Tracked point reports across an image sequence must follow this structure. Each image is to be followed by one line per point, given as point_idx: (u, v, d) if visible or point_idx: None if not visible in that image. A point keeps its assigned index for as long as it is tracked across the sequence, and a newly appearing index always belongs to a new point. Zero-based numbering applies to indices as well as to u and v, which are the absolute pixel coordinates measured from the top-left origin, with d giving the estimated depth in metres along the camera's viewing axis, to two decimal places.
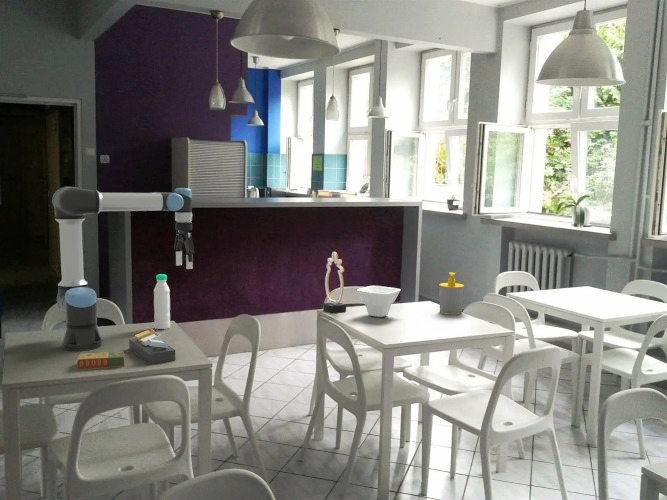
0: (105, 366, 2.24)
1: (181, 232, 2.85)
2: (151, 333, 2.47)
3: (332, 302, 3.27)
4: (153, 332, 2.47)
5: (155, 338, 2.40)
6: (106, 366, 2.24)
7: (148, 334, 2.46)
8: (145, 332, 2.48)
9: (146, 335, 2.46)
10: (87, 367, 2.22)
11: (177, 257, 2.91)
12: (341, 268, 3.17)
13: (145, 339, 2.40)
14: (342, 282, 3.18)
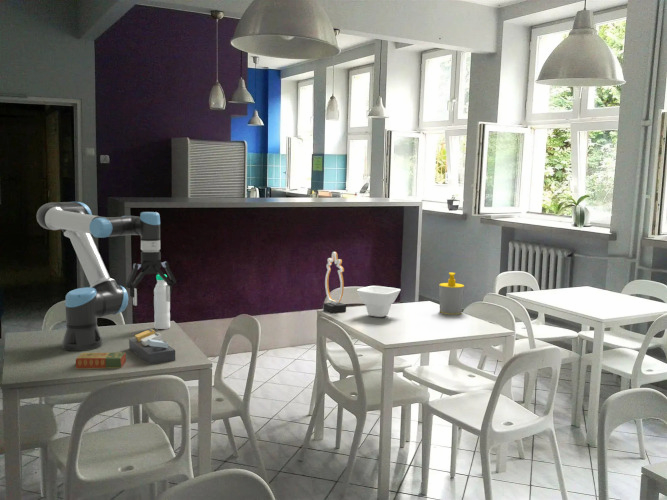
0: (102, 366, 2.24)
1: None
2: (151, 333, 2.47)
3: (332, 302, 3.27)
4: (153, 332, 2.47)
5: (155, 338, 2.40)
6: (104, 367, 2.24)
7: (148, 334, 2.46)
8: (145, 332, 2.48)
9: (146, 335, 2.46)
10: (85, 366, 2.23)
11: (166, 292, 2.52)
12: (341, 268, 3.17)
13: (145, 339, 2.40)
14: (342, 282, 3.18)
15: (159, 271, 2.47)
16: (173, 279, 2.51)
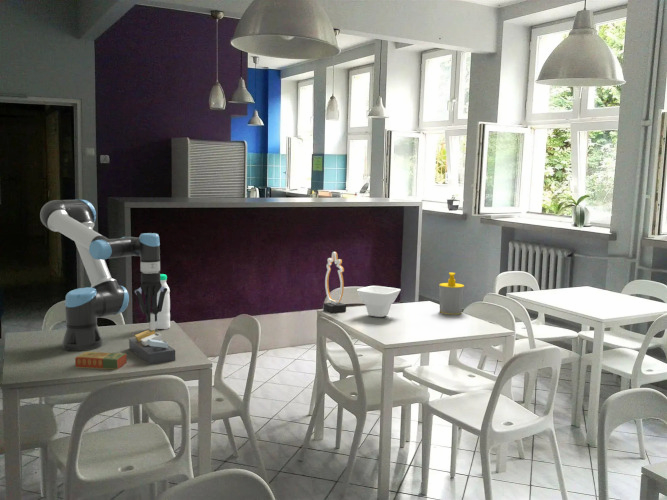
0: (100, 367, 2.23)
1: None
2: (151, 333, 2.47)
3: (332, 302, 3.27)
4: (153, 332, 2.47)
5: (155, 338, 2.40)
6: (101, 367, 2.23)
7: (148, 334, 2.46)
8: (145, 332, 2.48)
9: (146, 335, 2.46)
10: (84, 366, 2.24)
11: None
12: (341, 268, 3.17)
13: (145, 339, 2.40)
14: (342, 282, 3.18)
15: (155, 294, 2.46)
16: (160, 306, 2.49)
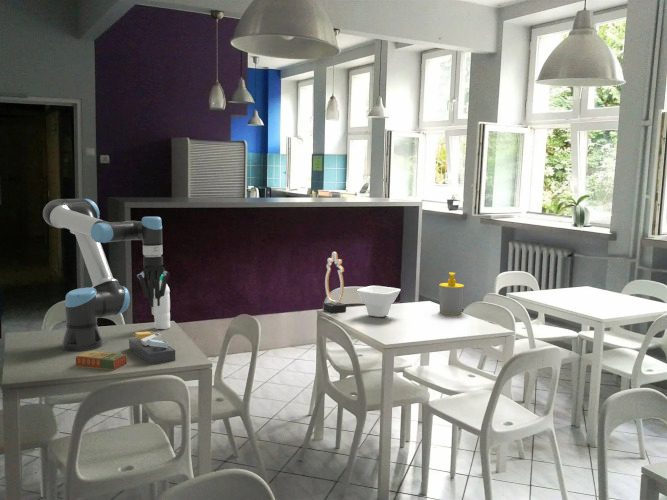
0: (98, 367, 2.23)
1: None
2: None
3: (332, 302, 3.27)
4: None
5: (155, 338, 2.40)
6: (99, 367, 2.23)
7: (148, 335, 2.46)
8: (146, 332, 2.48)
9: (146, 335, 2.46)
10: (83, 365, 2.25)
11: None
12: (341, 268, 3.17)
13: (145, 339, 2.40)
14: (342, 282, 3.18)
15: (158, 278, 2.43)
16: (163, 291, 2.45)
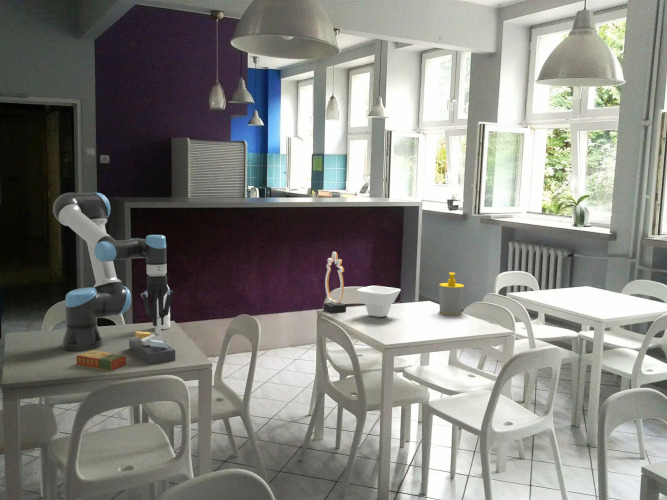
0: (96, 367, 2.23)
1: None
2: None
3: (332, 302, 3.27)
4: None
5: (155, 338, 2.40)
6: (97, 367, 2.23)
7: (148, 335, 2.46)
8: (146, 332, 2.48)
9: (146, 335, 2.46)
10: (83, 364, 2.25)
11: None
12: (341, 268, 3.17)
13: (145, 339, 2.40)
14: (342, 282, 3.18)
15: (161, 297, 2.40)
16: (167, 310, 2.43)
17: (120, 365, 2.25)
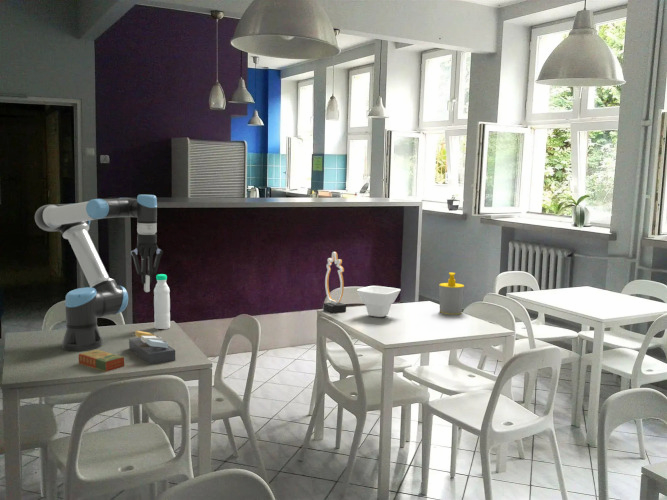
0: (94, 367, 2.23)
1: None
2: None
3: (332, 302, 3.27)
4: None
5: (155, 339, 2.40)
6: (95, 367, 2.23)
7: (149, 335, 2.46)
8: (146, 332, 2.48)
9: (146, 335, 2.46)
10: (84, 363, 2.27)
11: None
12: (341, 268, 3.17)
13: (146, 337, 2.40)
14: (342, 282, 3.18)
15: (151, 255, 2.46)
16: (156, 268, 2.49)
17: (117, 366, 2.24)
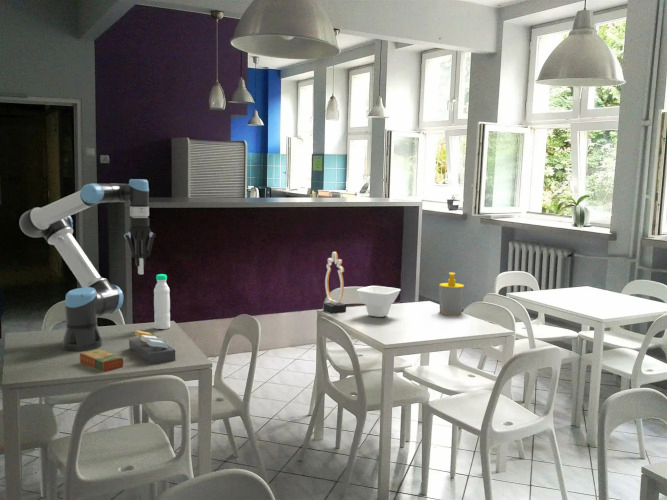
0: (93, 366, 2.23)
1: None
2: None
3: (332, 302, 3.27)
4: None
5: (155, 339, 2.40)
6: (94, 367, 2.23)
7: (149, 335, 2.46)
8: (146, 332, 2.48)
9: None
10: (84, 363, 2.27)
11: None
12: (341, 268, 3.17)
13: (146, 336, 2.40)
14: (342, 282, 3.18)
15: (144, 238, 2.52)
16: (149, 251, 2.54)
17: (115, 367, 2.23)
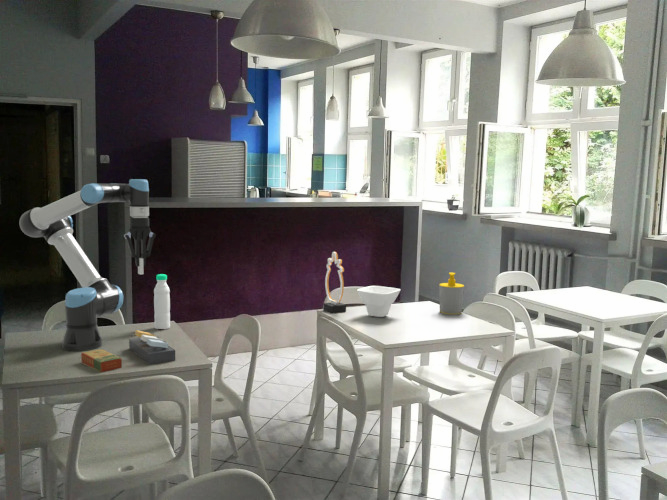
0: (92, 366, 2.24)
1: None
2: None
3: (332, 302, 3.27)
4: None
5: (155, 339, 2.40)
6: (93, 367, 2.23)
7: (149, 335, 2.46)
8: (146, 332, 2.48)
9: None
10: (85, 362, 2.28)
11: None
12: (341, 268, 3.17)
13: (146, 336, 2.40)
14: (342, 282, 3.18)
15: (144, 238, 2.52)
16: (149, 251, 2.54)
17: (113, 367, 2.23)
